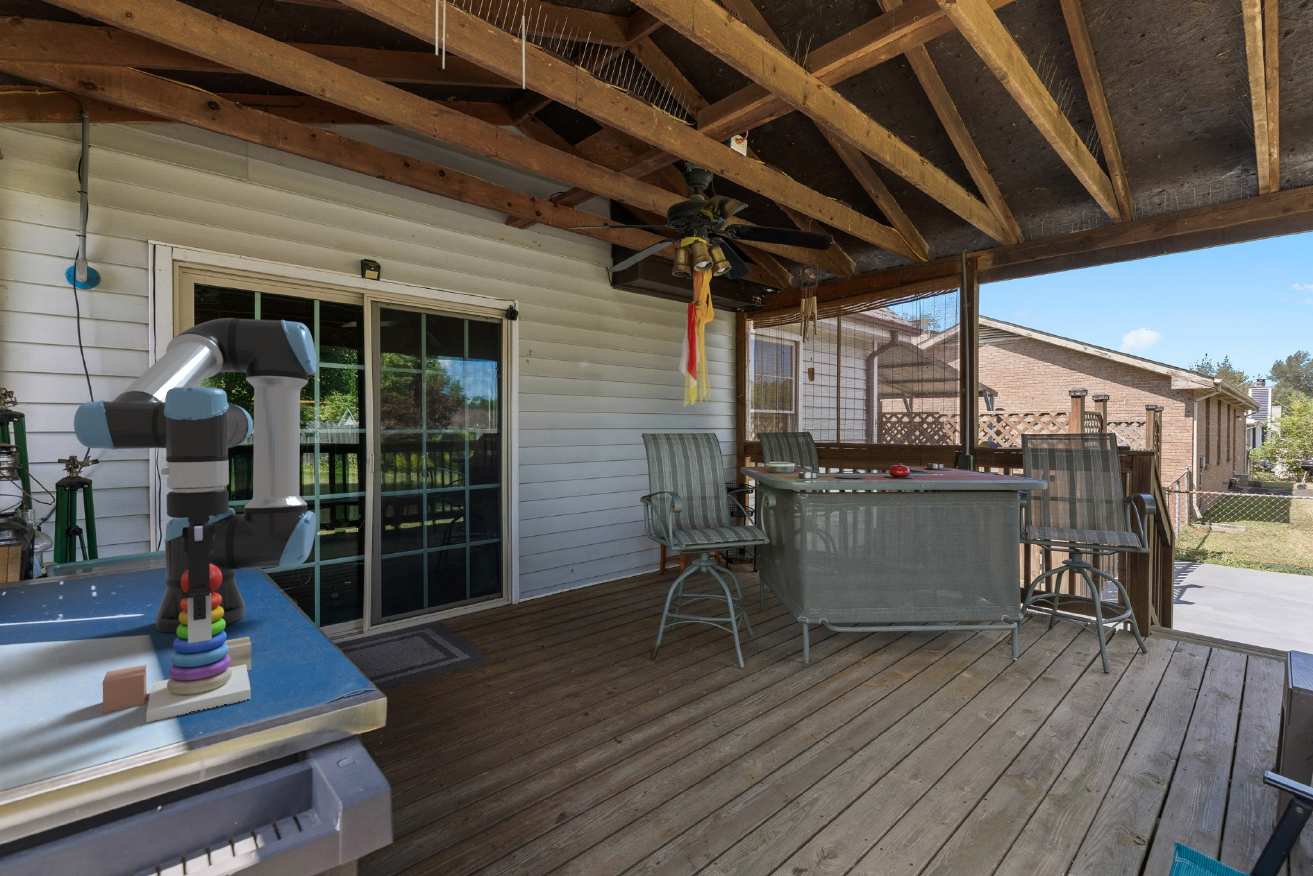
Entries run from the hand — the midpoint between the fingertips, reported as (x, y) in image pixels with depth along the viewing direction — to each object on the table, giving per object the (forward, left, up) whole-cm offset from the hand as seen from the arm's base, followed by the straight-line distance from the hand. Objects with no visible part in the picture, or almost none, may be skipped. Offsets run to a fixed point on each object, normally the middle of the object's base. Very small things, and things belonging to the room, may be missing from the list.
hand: (200, 628), depth 92 cm
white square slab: (0, 0, -10) cm, 10 cm away
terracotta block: (-4, -9, -11) cm, 14 cm away
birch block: (-9, +4, -11) cm, 15 cm away
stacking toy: (0, 0, -9) cm, 9 cm away
